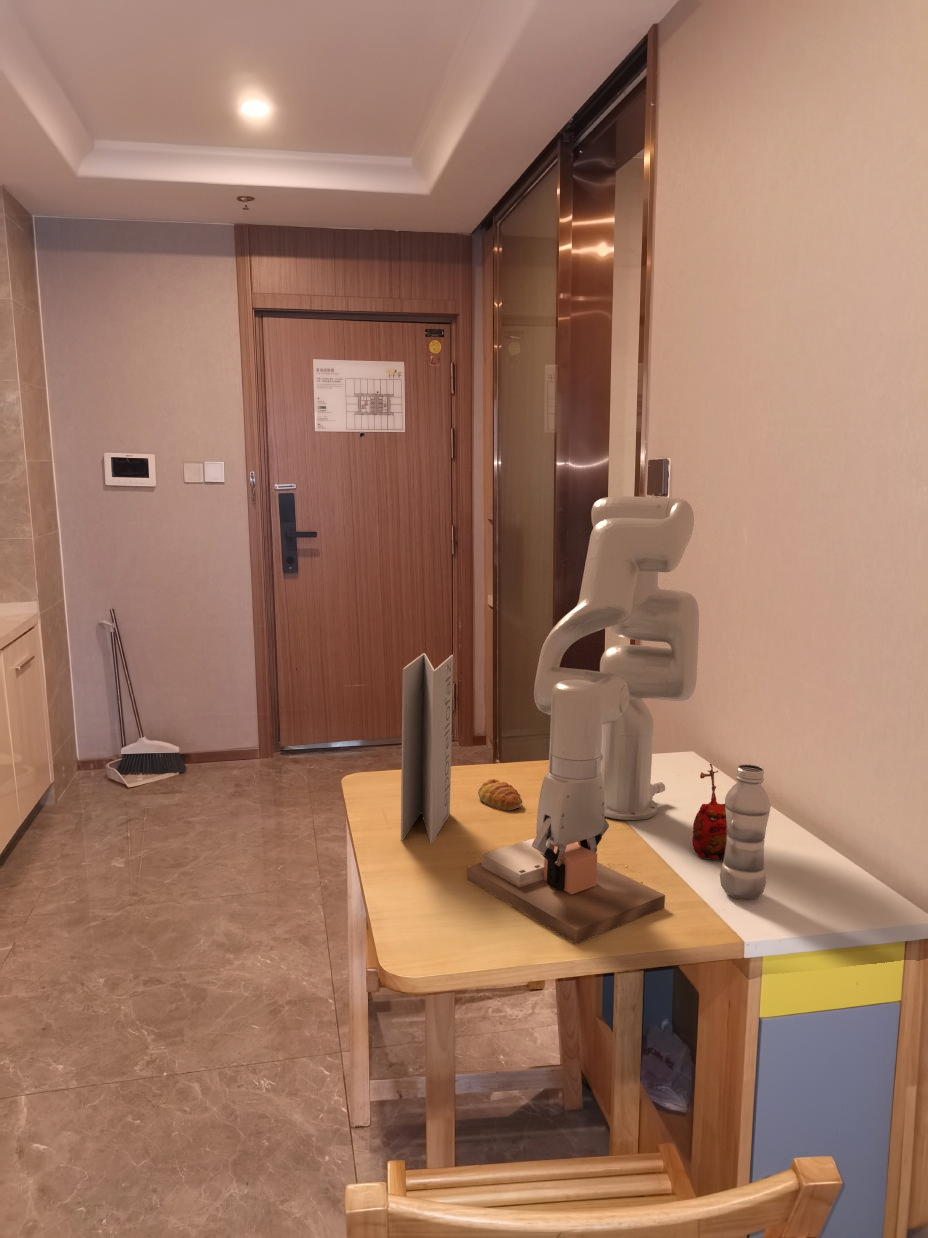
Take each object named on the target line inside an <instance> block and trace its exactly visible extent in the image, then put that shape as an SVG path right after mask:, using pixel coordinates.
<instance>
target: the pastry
mask: <svg viewBox="0 0 928 1238" xmlns="http://www.w3.org/2000/svg"><path fill="white" fill-rule="evenodd" d="M477 794H478V797H479V798H480V801H481V802H483V803H484V804H485V805H487V804H488V806H491V807H492V806H493V807H492V808H495V809H498V808H499V810H501V809H502V810H505V811H512V810H514V809H518V808H519V809H520V807H521V806H522V804H523V800H522V798H521V795H520V794H519V792H518V790H516V789H515V788H514V787H513V785H511V784H509V783H507V782H505V781H500V779H499V780H498V779H494V778H492V779H490V778H489V779H488V780H486V781H485V782H483V784H481V785H480V787H479V789H478V791H477ZM502 810H501V811H502Z"/></svg>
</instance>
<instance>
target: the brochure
mask: <svg viewBox="0 0 928 1238" xmlns="http://www.w3.org/2000/svg"><path fill="white" fill-rule="evenodd" d="M453 675H454V654H451V655H449V657H448V658H446V659H445V660H444V661H443V662H442V663H440V664H439V665H438V667H437V666H436V668H435V669H434V667H433V665H432V663H431V661H430V660H429V658H428V656H427V654H426V653H424V652H423V653H422V654H421V655H419V656H417V657H416V658H415V659H414V660H413V661H411V662H410V663H408V664H407V665H406V666H404V668H402V689H401V690H402V691H401V692H402V695H401V696H402V701H401V702H402V705H401V709H402V710H401V777H400V778H401V779H400V780H401V781H400V782H401V784H400V785H401V787H400V790H401V791H400V792H401V794H400V841H403V840H404V839H405V838H406V836H407V834H408V833H409V831H410V830H411V829H412V827H413V826H414V824H415V822H416V821H417V820H418V819H419V817H420V816H422V819H423V822H424V828H425V830H426V833H427V837H428V841H429V844H433V842H434V841H435V839H436V838H437V836H438V835H439V832H441V829H442V828H443V826H444V825H445V823H446V821H447V819H448V818H449V816H450V814H451V775H452V771H451V770H452V732H453V730H452V729H453V728H452V727H453V725H452V724H453V687H454V686H453V684H454V679H453V677H454V676H453Z"/></svg>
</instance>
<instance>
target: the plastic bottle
mask: <svg viewBox="0 0 928 1238" xmlns="http://www.w3.org/2000/svg"><path fill="white" fill-rule="evenodd" d="M736 772H737V773H736V775H735V779H736V780H737V782H735V784H734V785H732V787H731V788H730V789H729V790H728V792H726V796H725V798H724V804H725V810H726V821H727V842H726V848H725V855H724V860H722V861H723V862H722V863H721V868H720V872H719V877H720V878H719V880H720V886H721V888H722V889H723V891H724V893H726V894H727V895H729V896H731V897H733V898H737V899H741V900H756V899H758V898H760V897H761V896H762V895H763V894H764V892H765V889H766V885H767V876H766V870H765V868H766V867H765V852H764V851H765V848H764V847H765V839H766V831H767V826H768V821H769V817H770V812H771V809H772V808H771V805H772V804H771V799H770V797H769V795H768V793H767V791H766V790H765V788H764V787H763V785H762V783H764V780H765V779H764V772H765V771H764V768H763V767H761V766H759V765H755V764H745V763H744V764H739V765H738V766H737V771H736Z"/></svg>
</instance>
